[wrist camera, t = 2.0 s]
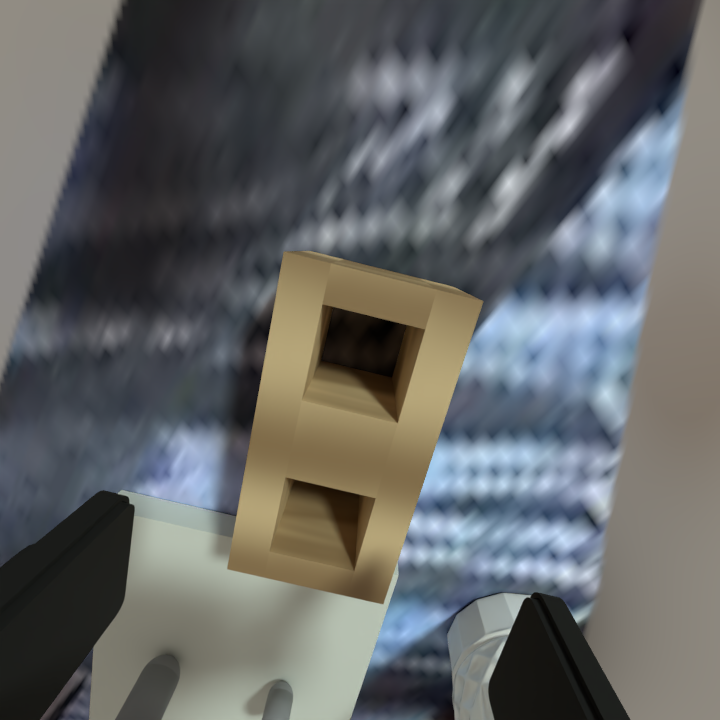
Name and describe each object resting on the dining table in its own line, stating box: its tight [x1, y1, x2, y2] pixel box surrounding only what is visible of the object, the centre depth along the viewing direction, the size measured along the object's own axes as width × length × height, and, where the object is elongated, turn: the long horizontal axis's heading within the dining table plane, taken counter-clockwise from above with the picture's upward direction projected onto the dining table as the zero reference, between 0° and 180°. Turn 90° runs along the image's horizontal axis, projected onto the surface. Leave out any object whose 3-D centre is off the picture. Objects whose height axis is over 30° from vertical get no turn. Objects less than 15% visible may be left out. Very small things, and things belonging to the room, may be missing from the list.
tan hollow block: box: [227, 251, 483, 604], centre depth 16 cm, size 12×6×5 cm, turn 166°
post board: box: [89, 490, 398, 720], centre depth 20 cm, size 18×15×6 cm
